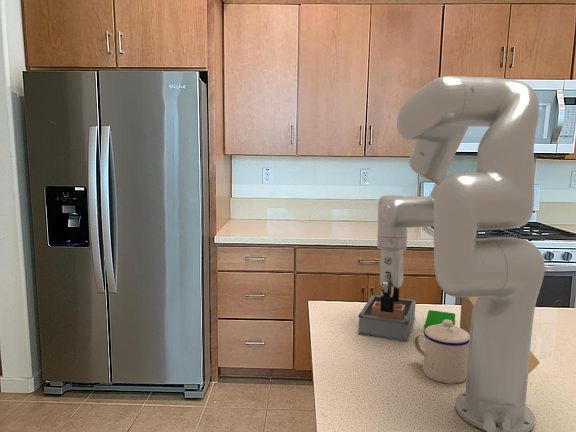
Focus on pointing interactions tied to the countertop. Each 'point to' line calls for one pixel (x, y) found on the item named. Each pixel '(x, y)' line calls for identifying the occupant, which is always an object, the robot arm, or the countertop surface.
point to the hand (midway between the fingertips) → (389, 306)
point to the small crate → (396, 314)
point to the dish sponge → (438, 318)
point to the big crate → (387, 321)
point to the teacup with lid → (444, 352)
